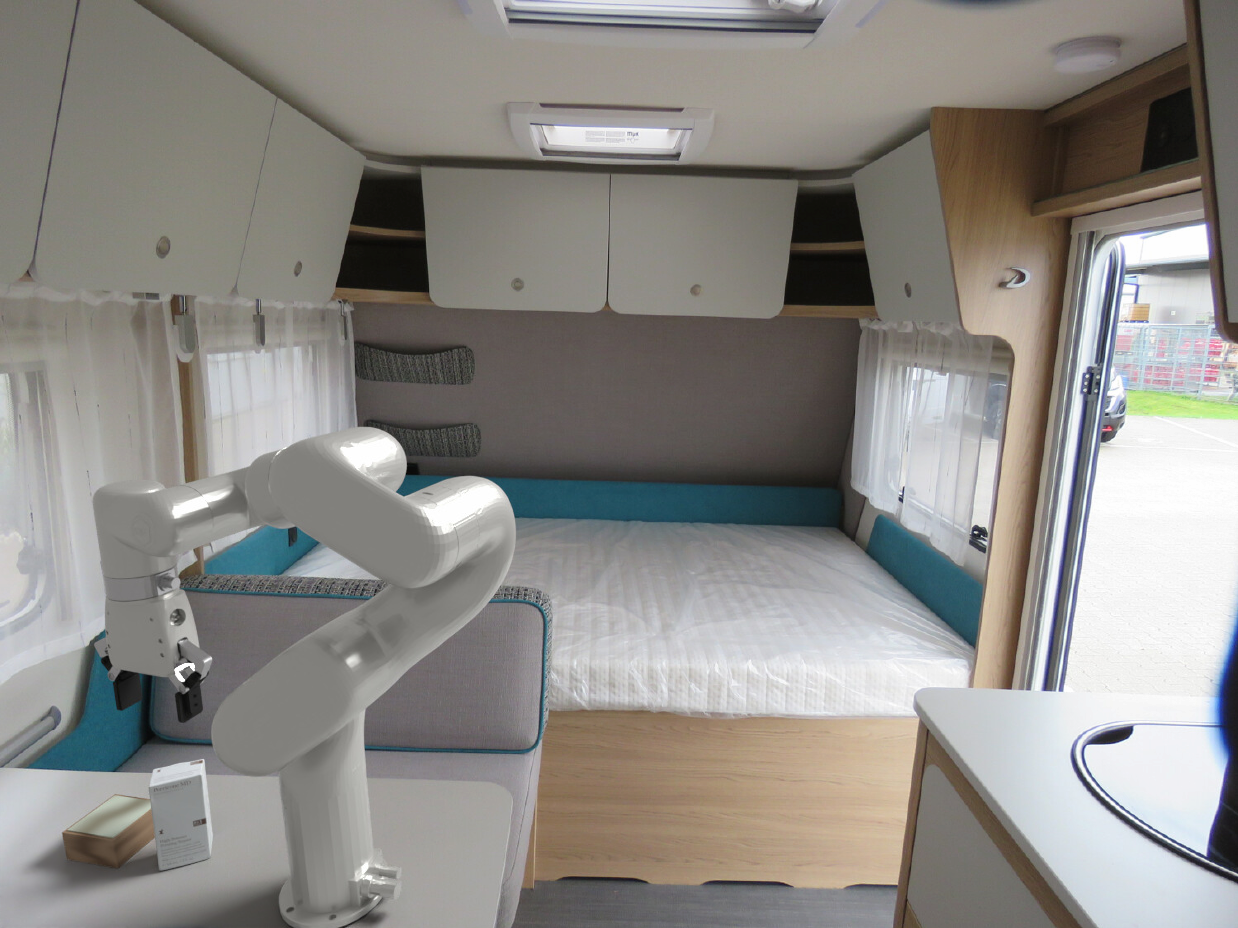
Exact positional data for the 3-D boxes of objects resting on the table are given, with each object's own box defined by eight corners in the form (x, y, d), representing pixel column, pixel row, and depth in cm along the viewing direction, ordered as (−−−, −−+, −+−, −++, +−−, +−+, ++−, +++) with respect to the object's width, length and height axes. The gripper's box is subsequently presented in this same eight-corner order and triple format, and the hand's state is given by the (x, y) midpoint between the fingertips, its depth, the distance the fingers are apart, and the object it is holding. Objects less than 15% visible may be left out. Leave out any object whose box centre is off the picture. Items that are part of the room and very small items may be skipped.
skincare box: (158, 873, 95) (144, 788, 92) (163, 850, 99) (150, 768, 96) (213, 857, 97) (201, 774, 95) (215, 836, 101) (204, 756, 99)
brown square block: (167, 826, 103) (163, 800, 102) (118, 868, 96) (113, 839, 95) (119, 819, 105) (115, 792, 104) (67, 859, 97) (61, 831, 96)
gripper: (224, 579, 91) (239, 706, 95) (116, 565, 96) (133, 686, 100) (172, 602, 84) (190, 738, 88) (58, 585, 89) (79, 715, 93)
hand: (160, 710), depth 94 cm, fingers open, 9 cm apart
